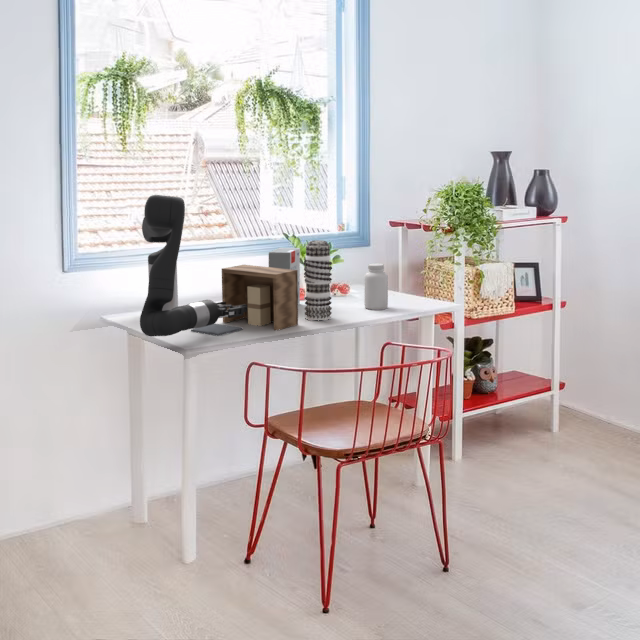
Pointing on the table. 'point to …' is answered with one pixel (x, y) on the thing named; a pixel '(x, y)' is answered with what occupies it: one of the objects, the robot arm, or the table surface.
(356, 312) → the table surface
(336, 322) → the table surface
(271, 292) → the cubby
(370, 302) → the pill bottle
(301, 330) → the table surface
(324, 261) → the decorative candle
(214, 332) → the mat
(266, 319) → the block
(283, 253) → the hard drive box
